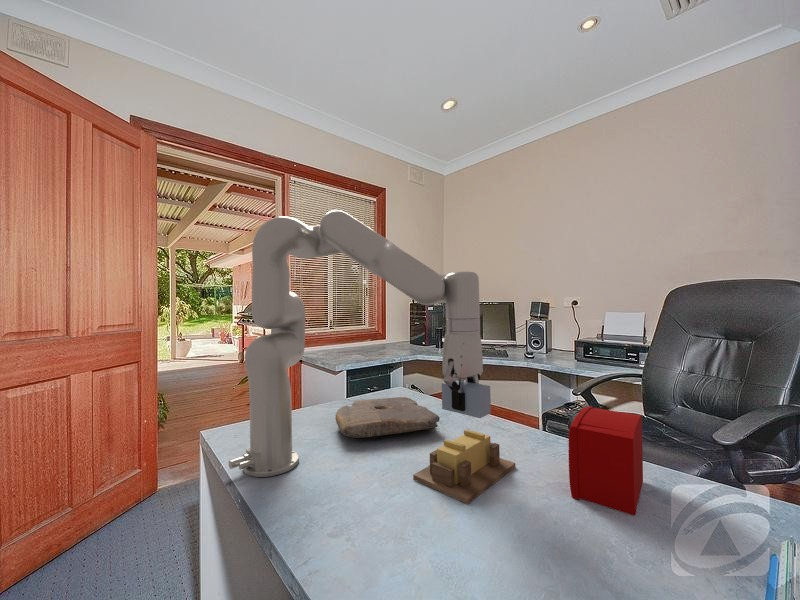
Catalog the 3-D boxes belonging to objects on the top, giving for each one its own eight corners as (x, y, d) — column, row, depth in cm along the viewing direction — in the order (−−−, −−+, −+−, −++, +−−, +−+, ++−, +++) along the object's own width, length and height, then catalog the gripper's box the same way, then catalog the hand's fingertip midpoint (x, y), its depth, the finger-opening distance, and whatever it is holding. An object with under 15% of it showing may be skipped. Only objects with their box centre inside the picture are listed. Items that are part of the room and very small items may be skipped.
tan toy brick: (456, 484, 72) (456, 450, 72) (437, 476, 75) (436, 444, 75) (490, 461, 82) (490, 431, 82) (472, 455, 85) (471, 426, 85)
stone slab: (445, 436, 101) (444, 414, 101) (345, 452, 91) (345, 428, 91) (407, 406, 130) (406, 390, 130) (328, 416, 120) (328, 398, 120)
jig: (467, 504, 66) (467, 475, 66) (413, 479, 76) (412, 454, 76) (515, 467, 81) (515, 443, 81) (464, 450, 91) (464, 429, 91)
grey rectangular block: (480, 418, 73) (479, 390, 73) (442, 409, 80) (441, 383, 80) (490, 413, 77) (490, 385, 77) (453, 404, 84) (452, 379, 84)
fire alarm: (587, 466, 81) (585, 401, 81) (643, 480, 74) (641, 410, 74) (569, 497, 68) (567, 421, 68) (634, 518, 61) (632, 433, 61)
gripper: (469, 323, 87) (471, 396, 87) (426, 328, 75) (428, 412, 75) (496, 324, 82) (498, 401, 82) (455, 329, 70) (457, 420, 70)
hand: (465, 406), depth 79 cm, fingers closed on grey rectangular block, 4 cm apart
